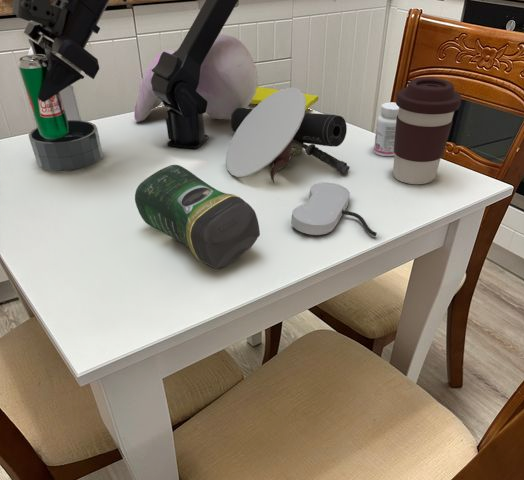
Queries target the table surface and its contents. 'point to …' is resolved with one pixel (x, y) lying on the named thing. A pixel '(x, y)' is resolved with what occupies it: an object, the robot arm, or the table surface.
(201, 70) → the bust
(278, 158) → the round grey base figurine
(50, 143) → the grey ribbed bowl
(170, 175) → the coffee jar
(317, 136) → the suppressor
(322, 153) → the knife
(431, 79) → the coffee cup
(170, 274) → the table surface
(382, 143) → the pill bottle
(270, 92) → the sign
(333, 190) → the game controller
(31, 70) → the soda can
